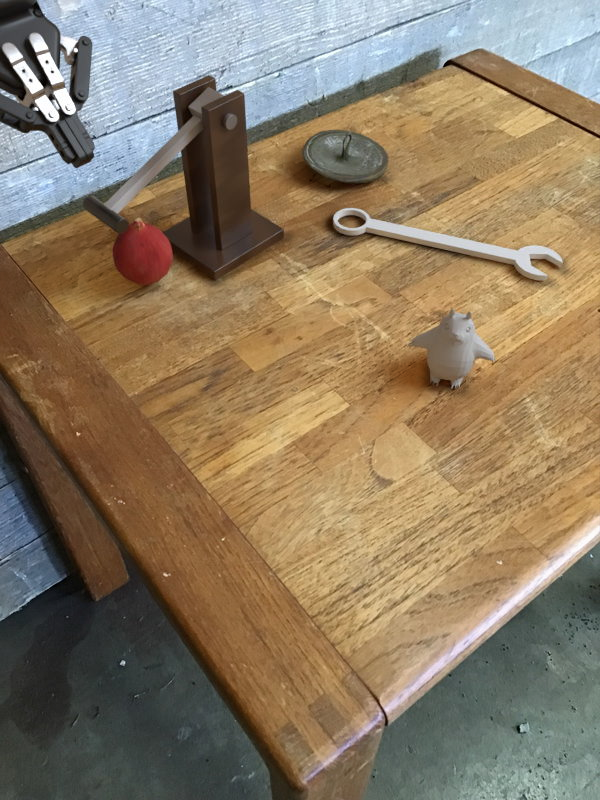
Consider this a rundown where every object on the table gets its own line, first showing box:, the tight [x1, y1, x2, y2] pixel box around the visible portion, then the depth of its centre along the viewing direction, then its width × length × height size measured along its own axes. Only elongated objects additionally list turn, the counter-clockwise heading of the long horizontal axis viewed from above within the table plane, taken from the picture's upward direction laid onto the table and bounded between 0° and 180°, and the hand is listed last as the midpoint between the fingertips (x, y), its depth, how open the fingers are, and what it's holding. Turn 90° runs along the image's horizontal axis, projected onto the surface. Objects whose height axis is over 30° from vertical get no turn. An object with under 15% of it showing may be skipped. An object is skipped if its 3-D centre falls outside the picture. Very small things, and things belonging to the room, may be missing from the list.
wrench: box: [332, 207, 564, 282], centre depth 79 cm, size 25×1×5 cm
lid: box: [301, 129, 389, 184], centre depth 88 cm, size 11×10×5 cm
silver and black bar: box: [82, 87, 225, 235], centre depth 68 cm, size 16×5×2 cm, turn 135°
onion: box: [111, 217, 174, 286], centre depth 73 cm, size 6×6×8 cm
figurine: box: [407, 308, 497, 390], centre depth 65 cm, size 8×6×8 cm
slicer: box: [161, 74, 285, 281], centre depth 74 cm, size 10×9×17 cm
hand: (85, 162), depth 65 cm, fingers closed
